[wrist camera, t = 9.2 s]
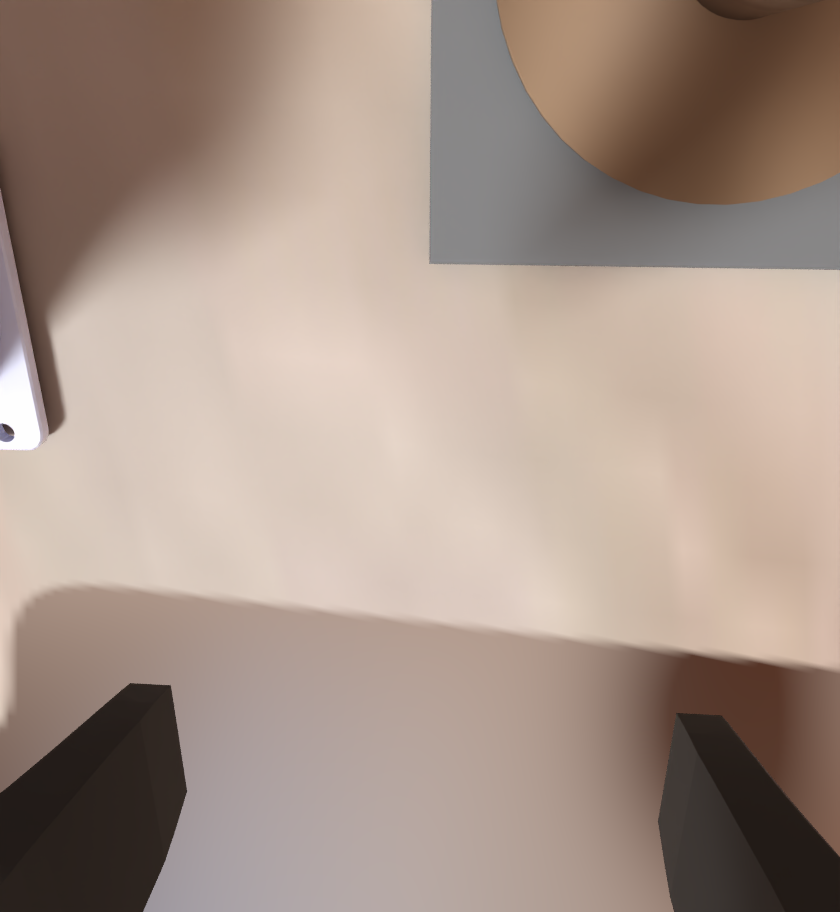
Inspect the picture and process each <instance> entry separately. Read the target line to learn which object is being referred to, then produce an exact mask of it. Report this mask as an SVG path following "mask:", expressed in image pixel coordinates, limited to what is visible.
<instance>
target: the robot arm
mask: <svg viewBox="0 0 840 912" xmlns="http://www.w3.org/2000/svg"><path fill="white" fill-rule="evenodd" d="M3 424H7V425H9V426H10V427H11V428H12V429H13V431H14V433H15V436H11V435H9V434H7V433H6V432H5V430H4V428H3ZM48 436H49V428H48V423H47V418H46V413H45V408H44V403H43V399H42V394H41V389H40V384H39V379H38V374H37V369H36V364H35V359H34V354H33V349H32V344H31V339H30V334H29V329H28V324H27V319H26V314H25V309H24V304H23V299H22V294H21V289H20V284H19V279H18V274H17V269H16V264H15V259H14V254H13V250H12V245H11V240H10V235H9V230H8V225H7V220H6V215H5V210H4V205H3V200H2V195H1V190H0V450H33V449H36V448H37V447H39V446H40V445H41V444H43V443H44V442H45V441H46V439H47V438H48ZM186 793H187V788H186V782H185V776H184V769H183V762H182V756H181V749H180V743H179V736H178V729H177V723H176V717H175V710H174V703H173V697H172V691H171V686H170V685H152V684H134V683H130V684H129V685H128V686H126V687H125V688H124V689H123V690H121V691H120V692H119V693H118V694H117V695H116V696H114V698H112V699H111V700H110V701H109V702H107V703H106V704H105V705H104V706H103V707H102V708H100V709H99V710H98V711H97V712H96V713H95V714H93V715H92V716H91V717H90V718H89V719H88V720H87V721H85V722H84V723H83V724H82V725H81V726H80V727H78V729H76V730H75V731H74V732H73V733H71V734H70V735H69V736H68V737H67V738H66V739H65V740H63V741H62V742H61V743H60V744H59V745H58V746H56V747H55V748H54V749H53V750H52V751H51V752H50V753H48V754H47V755H46V756H45V757H43V758H42V759H41V760H40V761H39V762H37V763H36V764H35V765H34V766H33V767H32V768H30V769H29V770H28V771H27V772H26V773H24V774H23V775H22V776H21V777H20V778H18V779H17V780H16V781H15V782H14V783H12V784H11V785H10V786H9V787H8V788H6V789H5V790H4V791H3V792H1V793H0V912H143V910H144V908H145V906H146V903H147V901H148V899H149V897H150V894H151V892H152V890H153V888H154V885H155V883H156V881H157V879H158V876H159V874H160V872H161V869H162V867H163V865H164V862H165V860H166V857H167V854H168V850H169V847H170V844H171V841H172V838H173V835H174V832H175V829H176V826H177V823H178V819H179V816H180V813H181V809H182V806H183V803H184V799H185V796H186ZM658 823H659V830H660V837H661V843H662V850H663V856H664V863H665V869H666V875H667V881H668V887H669V892H670V898H671V902H672V905H673V909H674V912H840V857H839V856H838V854H837V853H836V852H835V851H834V850H833V849H832V847H831V846H830V845H829V844H828V843H827V842H826V841H825V839H824V838H823V837H822V836H821V835H820V834H819V833H818V831H817V830H816V829H815V828H814V827H813V826H812V825H811V823H810V822H809V821H808V820H807V819H806V818H805V817H804V815H803V814H802V813H801V812H800V811H799V810H798V808H797V807H796V806H795V805H794V804H793V802H792V801H791V800H790V799H789V798H788V796H787V795H786V794H785V793H784V792H783V790H782V789H781V788H780V787H779V785H778V784H777V783H776V782H775V781H774V780H773V778H772V777H771V776H770V775H769V773H768V772H767V771H766V770H765V768H764V767H763V766H762V765H761V763H760V762H759V761H758V760H757V758H756V757H755V756H754V755H753V753H752V752H751V751H750V750H749V749H748V747H747V746H746V745H745V743H744V742H743V741H742V740H741V738H740V737H739V736H738V735H737V733H736V732H735V731H734V730H733V728H732V727H731V726H730V725H729V723H728V722H727V721H726V720H725V719H724V718H723V717H722V716H720V715H701V714H683V713H676V720H675V725H674V731H673V737H672V743H671V749H670V755H669V760H668V766H667V772H666V778H665V784H664V790H663V796H662V802H661V808H660V813H659V819H658Z"/></svg>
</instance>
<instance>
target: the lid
mask: <svg viewBox="0 0 840 912" xmlns="http://www.w3.org/2000/svg"><path fill="white" fill-rule="evenodd" d="M496 2H497V8H498V13H499V18H500V23H501V29H502V32H503V35H504V38H505V42H506V45H507V48H508V51H509V54H510V57H511V60H512V63H513V65H514V67H515V69H516V71H517V74H518V76H519V78H520V80H521V82H522V84H523V87H524V89H525V91H526V92H527V94H528V95H529V97H530V99H531V100H532V102H533V103H534V105H535V107H536V108H537V110H538V111H539V113H540V114H541V116H542V117H543V118H544V120H545V121H546V122H547V123H548V124H549V126H550V127H551V128H552V129H553V130H554V132H555V133H556V134H557V135H558V136H559V137H560V139H561V140H562V141H564V142H565V143H566V144H567V145H568V146H569V147H570V148H571V149H572V150H574V151H575V152H576V153H577V154H578V155H579V156H580V157H581V158H583V159H584V160H585V161H587V162H588V163H590V164H591V165H593V166H594V167H596V168H597V169H599V170H600V171H602V172H603V173H605V174H607V175H608V176H610V177H612V178H614V179H616V180H618V181H620V182H622V183H624V184H626V185H628V186H630V187H633V188H635V189H637V190H639V191H642V192H645V193H648V194H652V195H655V196H658V197H661V198H665V199H668V200H674V201H680V202H687V203H693V204H713V205H731V204H740V203H749V202H758V201H763V200H767V199H771V198H775V197H779V196H783V195H787V194H791V193H794V192H796V191H799V190H802V189H804V188H807V187H810V186H812V185H815V184H818V183H821V182H823V181H825V180H827V179H829V178H831V177H833V176H834V175H836V174H838V173H840V0H496Z"/></svg>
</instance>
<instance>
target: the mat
mask: <svg viewBox="0 0 840 912" xmlns="http://www.w3.org/2000/svg"><path fill="white" fill-rule="evenodd" d="M429 264H482V265H550V266H619V267H687V268H756V269H824V270H840V173H838V174H836V175H834V176H833V177H831V178H829V179H827V180H825V181H823V182H821V183H818V184H815V185H812V186H810V187H807V188H804V189H802V190H799V191H796V192H794V193H791V194H787V195H783V196H779V197H775V198H771V199H767V200H763V201H758V202H749V203H740V204H731V205H713V204H693V203H687V202H680V201H674V200H668V199H665V198H661V197H658V196H655V195H652V194H648V193H645V192H642V191H639V190H637V189H635V188H633V187H630V186H628V185H626V184H624V183H622V182H620V181H618V180H616V179H614V178H612V177H610V176H608V175H607V174H605V173H603V172H602V171H600V170H599V169H597V168H596V167H594V166H593V165H591V164H590V163H588V162H587V161H585V160H584V159H583V158H581V157H580V156H579V155H578V154H577V153H576V152H575V151H574V150H572V149H571V148H570V147H569V146H568V145H567V144H566V143H565V142H564V141H562V140H561V139H560V137H559V136H558V135H557V134H556V133H555V132H554V130H553V129H552V128H551V127H550V126H549V124H548V123H547V122H546V121H545V120H544V118H543V117H542V116H541V114H540V113H539V111H538V110H537V108H536V107H535V105H534V103H533V102H532V100H531V99H530V97H529V95H528V94H527V92H526V91H525V89H524V87H523V84H522V82H521V80H520V78H519V76H518V74H517V71H516V69H515V67H514V65H513V63H512V60H511V57H510V54H509V51H508V48H507V45H506V42H505V38H504V35H503V32H502V29H501V23H500V18H499V13H498V8H497V2H496V0H432V12H431V137H430V263H429Z"/></svg>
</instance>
